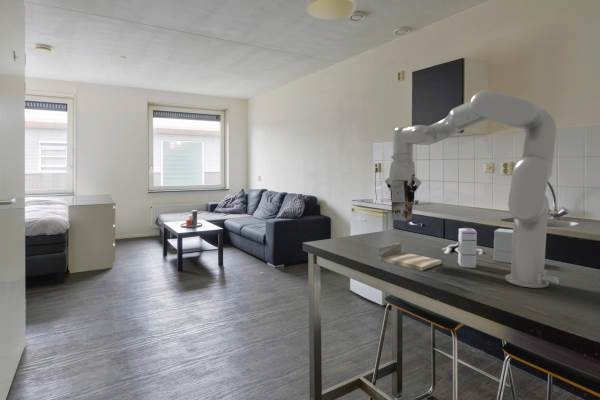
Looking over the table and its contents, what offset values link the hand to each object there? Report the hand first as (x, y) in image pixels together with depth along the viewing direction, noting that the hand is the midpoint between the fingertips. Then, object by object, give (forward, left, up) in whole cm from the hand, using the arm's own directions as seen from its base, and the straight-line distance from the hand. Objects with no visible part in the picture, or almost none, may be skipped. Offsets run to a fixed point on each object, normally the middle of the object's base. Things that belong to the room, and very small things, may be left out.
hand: (402, 200), depth 153 cm
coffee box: (0, 0, -8) cm, 8 cm away
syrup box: (-22, -12, -25) cm, 36 cm away
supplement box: (-29, -31, -25) cm, 49 cm away
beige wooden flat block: (-4, 0, -25) cm, 25 cm away
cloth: (-9, -32, -26) cm, 42 cm away
